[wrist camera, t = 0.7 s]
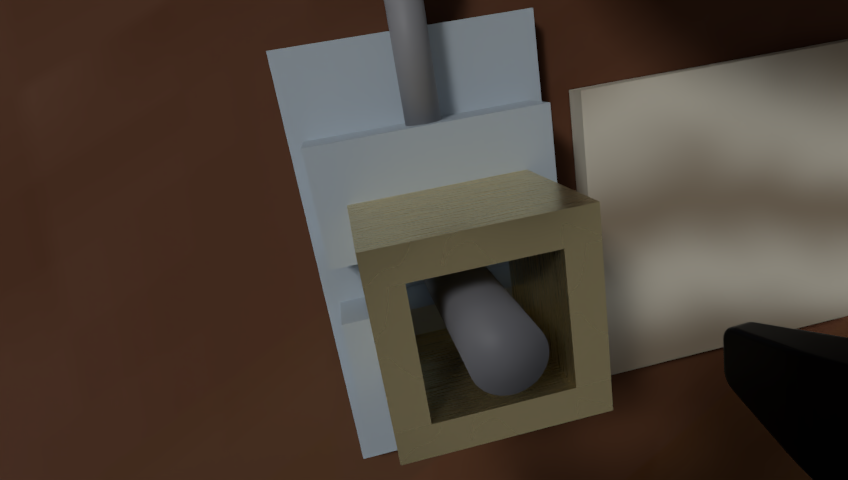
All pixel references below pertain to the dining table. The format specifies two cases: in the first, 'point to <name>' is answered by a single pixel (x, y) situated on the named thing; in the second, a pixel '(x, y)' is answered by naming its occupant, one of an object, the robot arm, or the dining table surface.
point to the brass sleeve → (531, 288)
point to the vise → (416, 178)
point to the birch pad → (718, 198)
